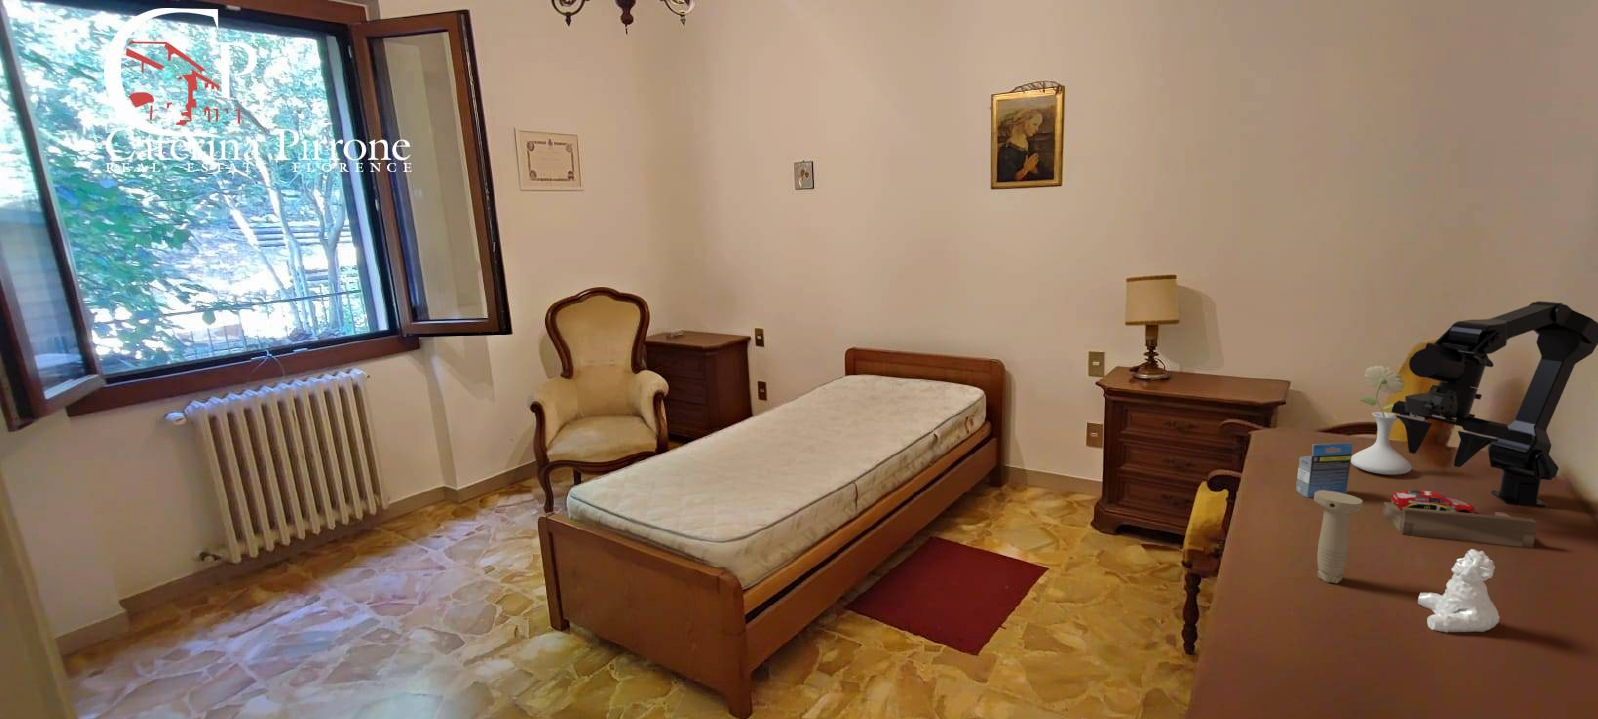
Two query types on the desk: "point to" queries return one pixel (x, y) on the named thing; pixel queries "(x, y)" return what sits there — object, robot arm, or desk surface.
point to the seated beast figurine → (1464, 598)
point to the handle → (1334, 533)
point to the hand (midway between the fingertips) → (1433, 459)
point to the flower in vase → (1382, 428)
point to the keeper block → (1462, 526)
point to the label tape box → (1324, 469)
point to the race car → (1430, 501)
